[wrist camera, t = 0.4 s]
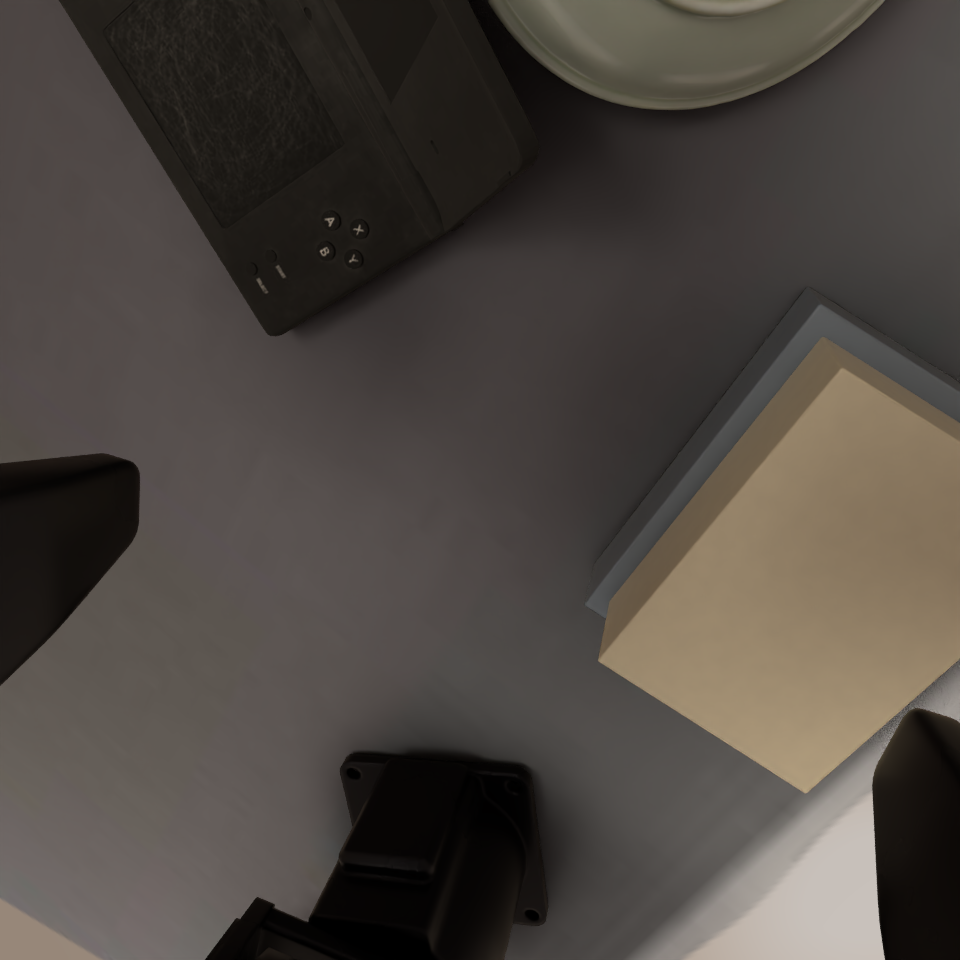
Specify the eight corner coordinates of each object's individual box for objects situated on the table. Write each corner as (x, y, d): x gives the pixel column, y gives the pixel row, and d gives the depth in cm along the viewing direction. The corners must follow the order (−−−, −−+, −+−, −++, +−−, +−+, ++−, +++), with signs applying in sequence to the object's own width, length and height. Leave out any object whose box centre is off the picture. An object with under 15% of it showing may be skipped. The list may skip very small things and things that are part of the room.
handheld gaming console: (-52, 3, 19) (-285, -406, 10) (180, -163, 20) (175, -661, 11) (295, 369, 22) (374, 333, 13) (474, 204, 24) (662, 63, 14)
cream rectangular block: (793, 719, 20) (806, 794, 18) (608, 601, 20) (596, 661, 18) (1048, 478, 17) (1104, 533, 14) (822, 335, 17) (841, 366, 14)
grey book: (787, 688, 22) (795, 741, 20) (592, 564, 22) (582, 605, 20) (1044, 436, 18) (1086, 472, 16) (806, 285, 18) (820, 302, 16)
